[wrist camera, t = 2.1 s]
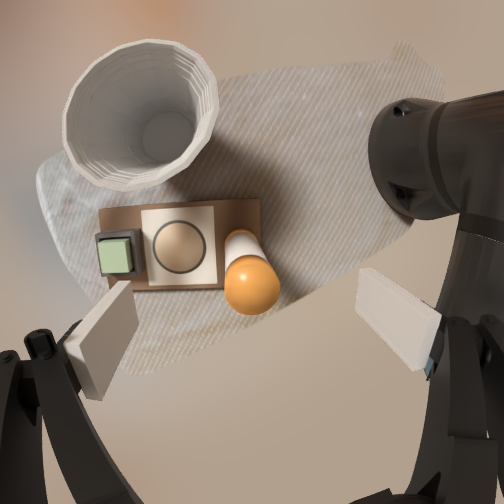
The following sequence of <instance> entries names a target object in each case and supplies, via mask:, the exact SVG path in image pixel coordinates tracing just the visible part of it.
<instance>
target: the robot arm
mask: <svg viewBox="0 0 504 504" xmlns="http://www.w3.org/2000/svg"><path fill="white" fill-rule="evenodd" d="M368 155H369V163H370V168H371V172H372V175H373V178H374V181H375V183H376V186H377V188H378V190H379V191H380V193H381V195H382V196H383V198H384V199H385V200H386V201H387V203H388V204H389V205H390V206H391V207H392V208H393V209H395V210H396V211H397V212H399V213H401V214H403V215H405V216H408V217H411V218H415V219H419V220H434V219H438V218H442V217H446V216H449V215H453V214H457V213H460V215H459V221H458V227H457V230H456V236H455V240H454V245H453V249H452V253H451V257H450V261H449V265H448V269H447V273H446V276H445V280H444V283H443V286H442V290H441V293H440V296H439V299H438V302H437V305H436V308H434V309H433V308H432V307H431V306H428V304H426V303H425V302H424V301H422V300H419V299H418V298H416V297H415V296H413V295H412V294H410V293H409V292H407V291H406V290H404V289H403V288H401V287H400V286H398V285H397V284H395V283H394V282H392V281H391V280H389V279H388V278H386V277H385V276H383V275H381V274H380V273H378V272H377V271H375V270H374V269H372V268H360V272H359V282H358V290H357V298H356V306H355V311H356V312H357V313H358V314H359V315H360V316H361V317H362V318H363V319H364V320H365V321H366V322H367V323H368V324H369V325H370V327H371V328H372V329H373V330H374V331H375V332H376V333H377V334H378V335H379V336H380V337H381V338H382V339H383V340H384V341H385V342H386V343H387V344H388V346H390V348H391V349H392V350H393V351H394V352H395V353H396V354H397V355H398V356H399V357H400V358H401V359H402V361H403V362H404V363H405V364H406V365H407V366H408V367H409V368H410V369H411V370H412V371H413V372H414V371H418V370H420V369H423V368H424V371H425V374H426V376H427V379H426V380H427V381H428V380H429V381H430V386H429V395H428V403H427V410H426V416H425V422H424V428H423V433H422V438H421V443H420V448H419V452H418V456H417V460H416V464H415V468H414V472H413V475H412V478H411V481H410V484H409V486H408V488H407V490H406V491H405V493H404V494H397V495H396V494H395V495H392V493H391V491H390V489H389V488H388V489H385V490H383V491H381V492H378V493H375V494H373V495H370V496H367V497H364V498H361V499H359V500H356V501H353V502H351V503H350V504H495V498H496V489H497V475H498V479H499V484H500V488H501V491H502V494H503V497H504V244H503V243H504V90H502V91H497V92H491V93H487V94H482V95H477V96H473V97H468V98H464V99H460V100H455V101H452V102H447V103H443V102H437V101H432V100H426V99H420V98H406V99H402V100H399V101H396V102H394V103H391V104H389V105H388V106H386V107H385V108H383V109H382V110H381V111H380V113H379V114H378V115H377V117H376V118H375V120H374V122H373V125H372V128H371V131H370V135H369V143H368ZM465 231H466V232H465ZM472 233H473V234H472ZM475 234H476V235H475ZM479 235H480V236H479ZM482 236H483V237H482ZM485 237H486V238H485ZM488 238H490V239H488ZM491 239H493V240H491ZM494 240H496V241H494ZM497 241H498V242H497ZM500 242H501V243H500ZM138 325H139V321H138V317H137V312H136V307H135V302H134V296H133V291H132V285H131V281H118V282H117V283H116V284H115V285H114V286H113V287H112V288H111V289H110V291H109V292H108V293H107V294H106V295H105V296H104V297H103V298H102V299H101V300H100V301H99V302H98V304H97V305H96V306H95V307H94V308H93V309H92V310H91V311H90V312H89V314H88V315H87V316H86V317H85V318H84V319H83V320H80V321H78V322H76V323H75V324H73V325H72V326H71V327H70V329H69V330H68V331H67V332H66V333H65V334H64V336H63V337H62V338H61V339H60V340H59V341H58V342H57V344H56V342H55V340H54V337H53V334H52V332H51V331H50V330H48V329H38V330H35V331H32V332H31V333H29V334H28V335H27V336H26V337H25V338H24V343H25V346H26V348H27V350H28V353H29V355H30V358H31V360H20V358H19V355H18V353H17V352H16V351H14V350H8V351H3V352H1V353H0V504H48V500H47V495H46V487H45V479H44V469H43V454H42V415H43V419H44V422H45V426H46V429H47V433H48V436H49V439H50V442H51V445H52V448H53V451H54V453H55V456H56V459H57V461H58V464H59V466H60V469H61V471H62V474H63V476H64V478H65V481H66V483H67V485H68V487H69V489H70V491H71V493H72V496H73V498H74V499H75V502H76V503H77V504H144V503H143V502H142V500H141V499H140V498H139V497H138V495H137V494H136V493H135V492H134V490H133V489H132V487H131V486H130V485H129V483H128V482H127V481H126V479H125V478H124V476H123V475H122V473H121V472H120V471H119V469H118V467H117V466H116V464H115V463H114V461H113V459H112V458H111V456H110V455H109V453H108V451H107V450H106V448H105V446H104V445H103V443H102V441H101V439H100V437H99V436H98V434H97V432H96V430H95V428H94V426H93V425H92V422H91V420H90V418H89V416H88V415H87V412H86V410H85V408H84V407H83V404H82V402H81V400H80V398H79V396H78V393H79V392H80V390H81V388H82V391H83V393H84V395H85V397H86V399H92V400H98V401H102V399H103V397H104V395H105V393H106V391H107V388H108V386H109V384H110V382H111V380H112V377H113V376H114V373H115V371H116V369H117V367H118V365H119V363H120V361H121V359H122V357H123V355H124V353H125V351H126V349H127V347H128V345H129V343H130V341H131V339H132V337H133V335H134V333H135V331H136V329H137V327H138ZM487 431H488V435H489V438H487Z"/></svg>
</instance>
